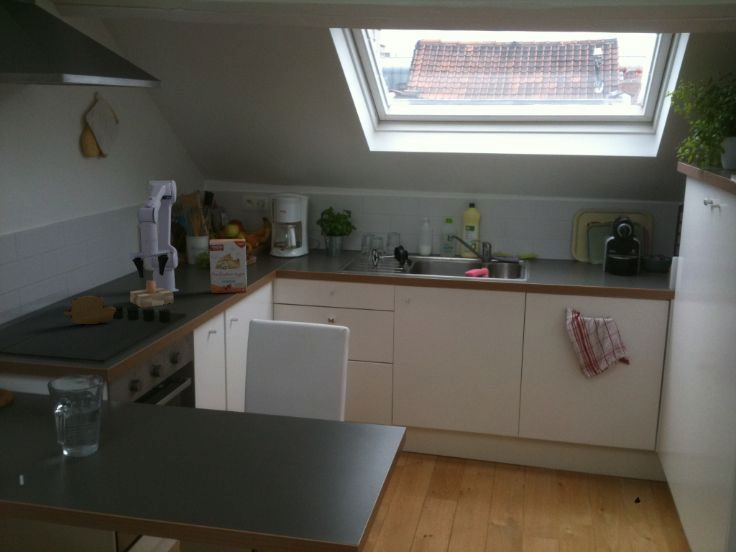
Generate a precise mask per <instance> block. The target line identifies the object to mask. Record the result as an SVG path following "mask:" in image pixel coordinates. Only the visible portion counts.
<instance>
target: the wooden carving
mask: <svg viewBox="0 0 736 552" xmlns="http://www.w3.org/2000/svg"><path fill="white" fill-rule="evenodd" d="M70 306H71V308H70V309H64V310H63V315H65V316H69V318H68V320H69V322H71V323H75V324H77V325H81V324H94V325H96V324H99V323H101V322H103V321H104V322H112V321H113V320H114V316H115V313H116V312H117V308H116V306H114V305H112V304H111V305H110V304H108V305H107V304H106V305H105V300H104V298H103V295H102V296H97V295H94V294H93V295H92V294H88V295H81V296H78V297H77V298H72V299H71V301H70Z"/></svg>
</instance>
